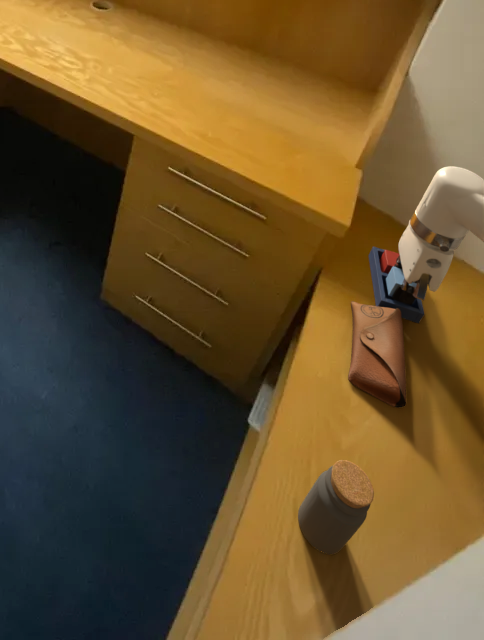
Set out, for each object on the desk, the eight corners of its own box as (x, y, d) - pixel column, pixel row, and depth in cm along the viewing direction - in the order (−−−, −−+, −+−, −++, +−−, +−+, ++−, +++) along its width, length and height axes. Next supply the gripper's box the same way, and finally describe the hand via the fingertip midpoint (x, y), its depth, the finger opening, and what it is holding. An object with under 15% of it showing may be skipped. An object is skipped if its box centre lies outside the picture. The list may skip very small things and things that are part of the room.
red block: (400, 268, 107) (407, 255, 105) (403, 284, 103) (410, 271, 101) (378, 261, 108) (385, 249, 106) (381, 277, 105) (387, 264, 103)
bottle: (335, 505, 74) (368, 459, 66) (349, 560, 69) (387, 517, 61) (292, 496, 75) (321, 450, 67) (303, 549, 70) (335, 506, 62)
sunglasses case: (348, 297, 101) (377, 287, 97) (377, 322, 100) (408, 313, 96) (346, 383, 88) (380, 376, 83) (380, 412, 87) (416, 407, 82)
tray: (406, 267, 108) (411, 257, 106) (418, 323, 97) (424, 314, 96) (368, 255, 110) (372, 246, 109) (376, 309, 100) (381, 300, 98)
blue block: (408, 286, 101) (416, 273, 99) (412, 303, 97) (420, 290, 95) (385, 278, 102) (392, 266, 100) (388, 295, 99) (395, 283, 97)
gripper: (475, 274, 83) (431, 337, 92) (450, 201, 96) (413, 263, 105) (421, 257, 85) (383, 321, 94) (404, 189, 98) (372, 250, 108)
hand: (399, 290), depth 100 cm, fingers closed on blue block, 4 cm apart
